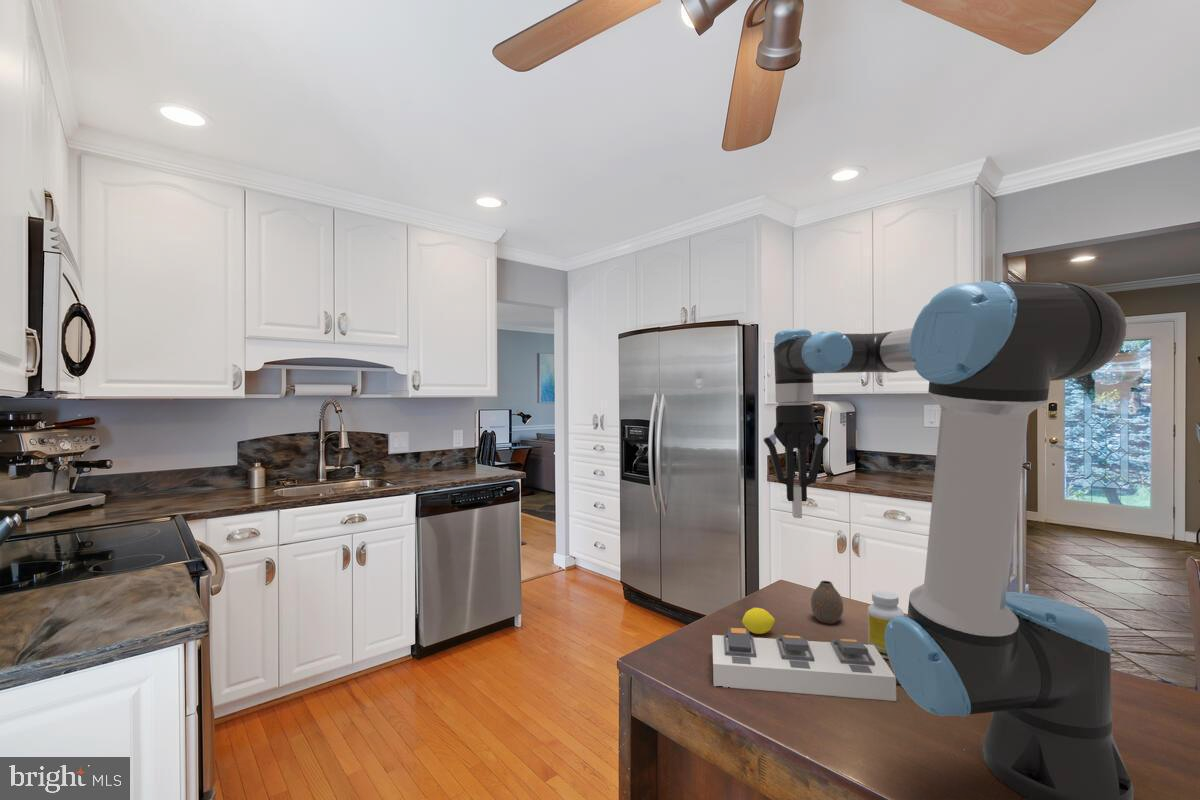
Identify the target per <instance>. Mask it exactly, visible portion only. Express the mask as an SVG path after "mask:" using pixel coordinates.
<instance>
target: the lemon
mask: <svg viewBox="0 0 1200 800" xmlns="http://www.w3.org/2000/svg"><path fill="white" fill-rule="evenodd" d="M741 622H742V624H743V626H744V628H748V629H749V633H750V632H751V633H752V634H756V635H763V634H766V633H769V631H770V630H771V629H772V627H773V626H774V624H775V622H776V619H775V618H774V617H773V615H771V614H770V612H769V611H768V610H765V609H764V608H760V607H752V608H751V609H748V610H747V611H745V613H744V615H743V617H742V620H741Z"/></svg>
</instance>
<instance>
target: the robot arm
mask: <svg viewBox="0 0 1200 800" xmlns="http://www.w3.org/2000/svg"><path fill="white" fill-rule="evenodd" d="M930 299H931V300H929V302H928V303H925V305H924V306H923V308H922V309H921V311H920V312H919V314H918V315H917V318H916V319H915V321H914V324H913V327H912V328H906V329H900V330H893V331H885V332H877V333H876V332H875V333H874V332H873V333H841V332H839V331H837V330H836V331H834V330H830V331H829V330H828V331H819V332H817V333H814V334H812V332H811V330H809V329H806V328H805V329H804V328H794V329H786V330H780V331H778V332H776V333H775V335H774V343H773V344H774V345H773V358H774V380H775V382H774V383H775V384H774V385H775V388H774V389H775V403H776V404H778V405H777V406H776V407H775V427H774V429H773V433H772V434H770V435H768V436H766V437H763V440H762V441H763V442H764V443H765V445H766V446H767V448H768V450H769V455H770V458H771V461H772V465H773V468H774V473H775V476H776V480H777V481H778V482H779V483H780V484H783V485H785V486H786V499H787V501H788V502H791V503H792V504H791V507H792V509H791V511H792V513H791V514H792V517H793V518H794V519H803V503H802V502H806V501H807V500H808V493H807V492H808V486H809V485H811V484H815V483H816V482H817V479H818V475H819V470H820V466H821V462H822V456H823V452H824V449H825V447H826V445H828V443H829V438H828V437H826V436H823V435H821V434H820V433H818V430H817V428H816V426H815V407H814V406H813V404H812V403H813V402H814V399H815V397H814V374H815V375H816V374H817V375H818V374H848V373H852V374H855V373H889V374H890V373H900V372H909V371H911V372H913V371H916V372H917V374H918V375H919V376H920V377H922V378H923V379H924V380H926V381H928V382H929V383H928V391H927V394H928V395H929V396H930V397H931V398H932V399H933V401H935V402H936V403H937V405H939V407H940V416H939V425H938V426H939V428H938V436H937V447H936V457H935V459H936V460H935V468H934V476H933V477H934V479H933V489H932V498H931V507H930V509H931V510H930V519H929V528H928V529H929V530H928V538H927V539H928V540H927V548H926V549H927V550H926V561H925V568H924V569H925V571H924V582H923V584H921V585H919V586H917V587H914V588H913V589H912V590H911V591H910V593H909V596H908V597H909V599H908V608H907V614H906V615H904V616H897V617H896V618H894V619H893V620H891V621H889V622H888V624H887V626H886V629H885V646H886V651H887V655H888V658H889V659H888V661H889V664H890V667H891V668H892V669H891V670H893V673H894V675H895V677H896V678H897V679H898V681H899V682H900V684H899V685H901V687H902V689H903V690H904V691H905V693H906V694H907V695H908V696H909V697H910V698H911V700H912V701H913V702H914V703H915V704H916V705H918V706H919V707H920V708H922V710H924V711H926V712H928V713H930V714H932V715H935V716H939V717H950V716H951V717H953V716H958V717H960V718H961V717H962V718H964V717H969V716H970V715H978V714H987V713H988V714H989V713H992V716H991V719H990V720H989V723H988V726H987V728H986V729H985V730H986V731H985V733H984V736H983V739H982V749H983V751H982V752H983V753H982V754H983V755H982V756H983V757H982V758H983V762H985V764H986V766H987V768H988V770H990V772H991V773H992V774H993V776H995V777H996V778H997V779H998V780H999V781H1000V782H1002V783H1003V784H1004V785H1006V786H1007V787H1008V788H1010V789H1012V790H1013V791H1014V792H1016V793H1018V794H1020V795H1021V796H1023V797H1024V798H1026V799H1028V800H1134V799H1135V796H1134V794H1135V793H1134V786H1133V782H1132V779H1131V778H1130V774H1129V773H1128V770H1127V768H1126V764H1125V763H1124V761H1123V758H1122V755H1121V753H1120V751H1119V749H1118V745H1117V744H1116V741H1115V738H1114V737H1113V736H1114V735H1113V724H1112V723H1113V722H1112V721H1113V719H1112V717H1113V716H1112V712H1113V711H1112V709H1113V708H1112V704H1113V703H1112V665H1111V664H1112V661H1111V659H1112V658H1111V655H1112V654H1113V650H1112V648H1111V647H1110V645H1111V644H1110V637H1109V629H1108V627H1107V625H1106V624H1105V622H1104V620H1102V619H1101V618H1100V617H1099V616H1097V615H1096V614H1094V613H1092V612H1090V611H1089V610H1086V609H1083V608H1081V607H1078V606H1075V605H1073V604H1070V603H1067V602H1064V601H1060V600H1057V599H1053V598H1050V597H1049V598H1048V597H1045V596H1040V595H1035V594H1031V593H1025V592H1017V591H1016V592H1015V591H1008V584H1009V577H1010V568H1011V563H1012V562H1011V561H1012V560H1011V559H1012V552H1013V545H1014V536H1015V527H1016V520H1017V514H1018V513H1017V512H1018V505H1019V504H1018V503H1019V496H1020V487H1021V480H1022V472H1023V463H1024V456H1025V455H1024V454H1025V448H1026V440H1027V439H1026V438H1027V431H1028V423H1029V416H1030V414H1031V413H1033V412H1034V411H1036V410H1037V409H1038V408H1040V407H1042V406H1044V405H1045V404H1046V403H1048V400H1049V392H1050V386H1051V385H1050V384H1051V381H1065V380H1069V379H1071V380H1072V379H1077V378H1080V377H1083V376H1087V375H1090V374H1091V373H1093V372H1096V371H1097V370H1099V369H1101V368H1102V367H1104V366H1106V365H1107V364H1108V363H1110V362H1111V361H1112V359H1114V358H1115V357H1116V356H1117V354H1118V353H1119V351H1120V349H1121V347H1122V346H1123V345H1124V341H1125V338H1126V335H1127V321H1126V316H1125V313H1124V312H1123V310H1122V308H1121V306H1120V304H1118V302H1117V301H1116V300H1115V299H1114V298H1113V297H1112V296H1110V295H1109V294H1107V293H1106V292H1105V291H1103V290H1101V289H1098V288H1097V287H1094V286H1091V285H1086V284H1083V283H1078V282H1069V281H1068V282H1066V281H1065V282H1061V281H1060V282H1059V281H1058V282H1038V281H1037V282H1034V281H1033V282H1032V281H1003V280H1002V281H1000V280H996V281H995V280H991V281H990V280H986V281H977V282H965V283H958V284H954V285H952V286H949V287H946V288H944V289H942V290H941V291H940V292H938V293H936V294H935V295H934V296H933V297H932V298H930ZM776 439H778V441H779V443H780V444H781V445H782V446H783V447H784V452H785V455H784V456H785V476H784V473H783V470H782V466H781V461H780V459H779V454H778V452H777V448H776V444H777V440H776ZM813 440H814V444H815V446H814V450H813V454H812V459H811V463H810V468H809V472H808V471H807V470H808V469H807V452H808V451H807V448H808V447H809V445H810V444H811V443H812V441H813ZM794 449H797V457H798V458H797V460H798V463H797V464H798V466H797V468H798V484H795V482H794V480H795V479H794Z"/></svg>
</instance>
